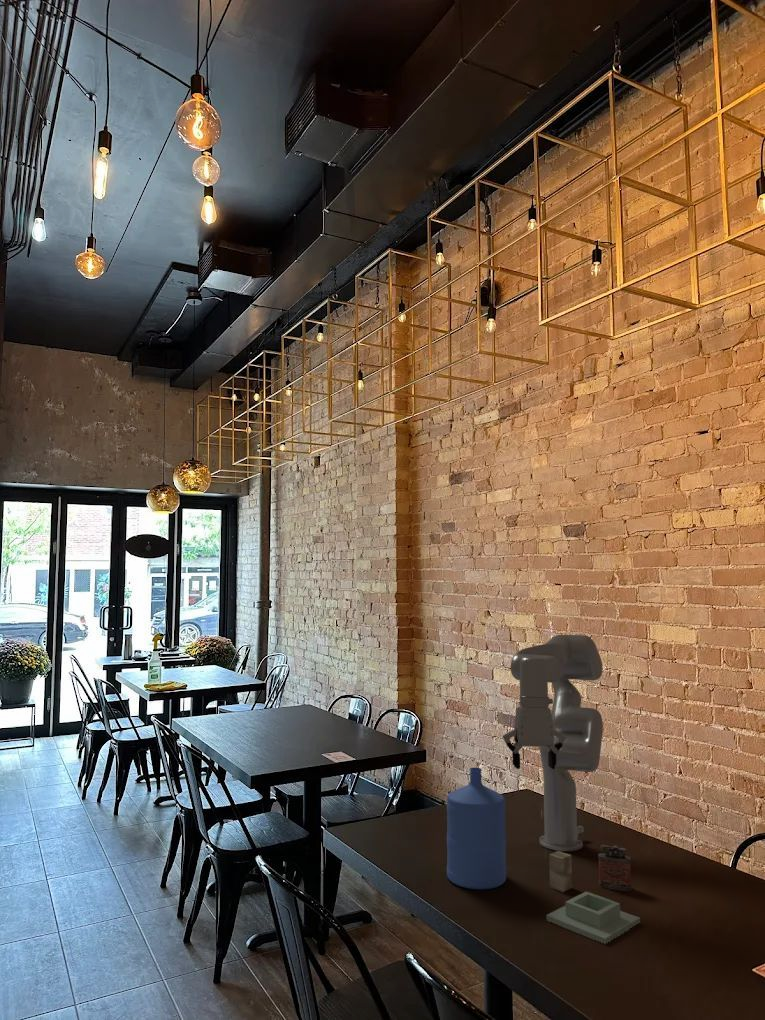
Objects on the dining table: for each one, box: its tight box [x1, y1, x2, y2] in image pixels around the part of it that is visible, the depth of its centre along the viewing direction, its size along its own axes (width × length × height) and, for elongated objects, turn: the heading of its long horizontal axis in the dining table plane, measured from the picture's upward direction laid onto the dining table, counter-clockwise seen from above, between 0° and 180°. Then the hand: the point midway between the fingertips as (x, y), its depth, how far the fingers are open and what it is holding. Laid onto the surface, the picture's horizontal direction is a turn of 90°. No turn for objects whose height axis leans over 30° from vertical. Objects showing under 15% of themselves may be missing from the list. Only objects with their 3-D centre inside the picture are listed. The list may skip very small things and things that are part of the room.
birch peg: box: [548, 851, 573, 893], centre depth 183 cm, size 4×4×8 cm
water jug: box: [446, 767, 507, 890], centre depth 189 cm, size 16×16×28 cm
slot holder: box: [546, 891, 641, 945], centre depth 164 cm, size 15×15×4 cm
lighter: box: [597, 844, 633, 891], centre depth 184 cm, size 8×3×10 cm, turn 71°
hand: (534, 767), depth 192 cm, fingers open, 9 cm apart
